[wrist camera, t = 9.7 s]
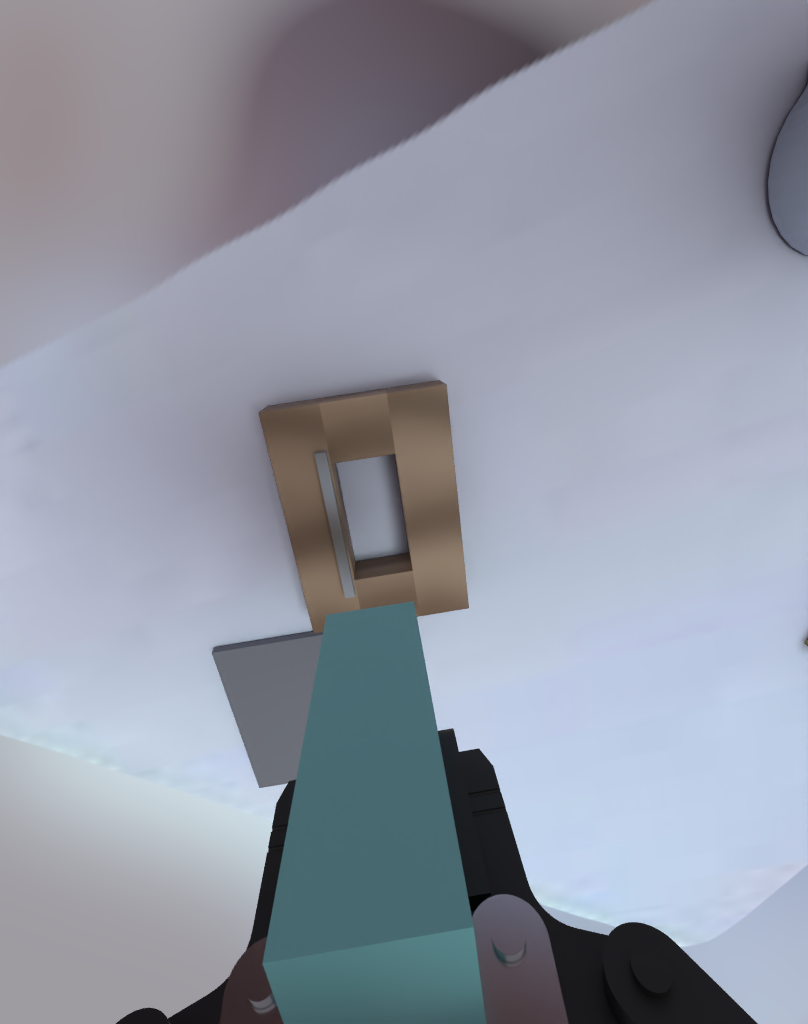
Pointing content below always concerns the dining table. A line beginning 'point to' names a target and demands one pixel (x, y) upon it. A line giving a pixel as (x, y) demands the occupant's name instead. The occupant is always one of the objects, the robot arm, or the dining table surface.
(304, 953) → the teal rectangular prism
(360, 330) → the dining table surface
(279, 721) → the mat
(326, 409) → the brown wooden frame
